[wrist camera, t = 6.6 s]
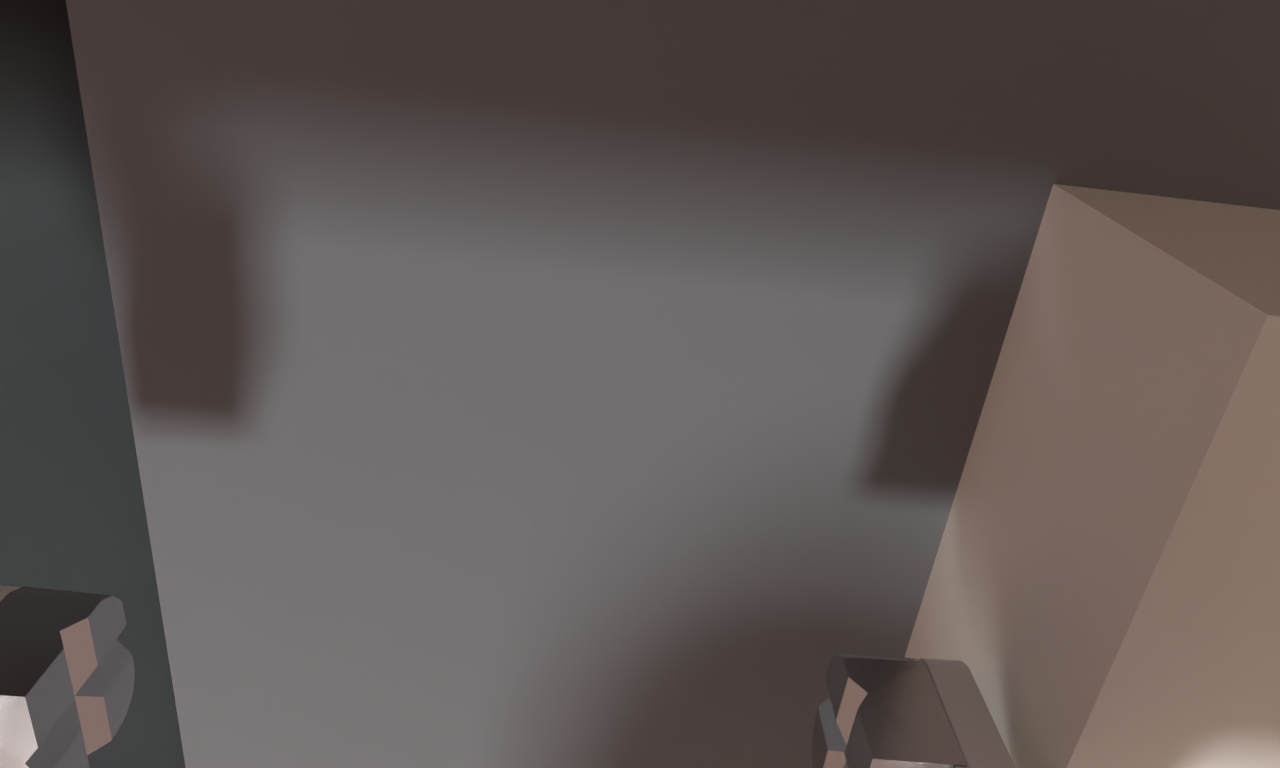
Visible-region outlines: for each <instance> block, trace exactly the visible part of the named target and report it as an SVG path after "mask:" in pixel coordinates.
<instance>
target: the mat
mask: <svg viewBox="0 0 1280 768" xmlns="http://www.w3.org/2000/svg"><path fill="white" fill-rule="evenodd" d="M66 6H67V12H68V18H69V25H70V31H71V38H72V44H73V50H74V57H75V63H76V69H77V76H78V82H79V89H80V95H81V101H82V108H83V114H84V121H85V127H86V133H87V140H88V146H89V152H90V159H91V165H92V172H93V178H94V184H95V191H96V197H97V204H98V210H99V216H100V223H101V229H102V236H103V242H104V248H105V255H106V261H107V267H108V274H109V280H110V287H111V293H112V299H113V306H114V312H115V319H116V325H117V331H118V338H119V344H120V351H121V357H122V363H123V370H124V376H125V382H126V389H127V395H128V402H129V408H130V414H131V421H132V427H133V434H134V440H135V446H136V453H137V459H138V465H139V472H140V478H141V485H142V491H143V497H144V504H145V510H146V517H147V523H148V529H149V536H150V542H151V549H152V555H153V561H154V568H155V574H156V580H157V587H158V593H159V600H160V606H161V612H162V619H163V625H164V632H165V638H166V644H167V651H168V657H169V664H170V670H171V676H172V683H173V689H174V695H175V702H176V708H177V715H178V721H179V727H180V734H181V740H182V747H183V753H184V759H185V766H186V768H813V761H812V739H813V727H814V722H815V718H816V713H817V709H818V706H820V705H821V704H822V703H823V702H825V701H826V700H827V699H828V698H830V695H829V691H828V687H827V683H826V679H825V678H826V674H827V671H828V667H829V664H830V661H831V659H832V658H833V656H834V654H835V653H844V654H858V655H872V656H886V657H900V658H904V657H905V654H906V651H907V647H908V644H909V641H910V638H911V635H912V631H913V628H914V625H915V622H916V619H917V616H918V612H919V609H920V606H921V603H922V600H923V597H924V593H925V590H926V587H927V584H928V581H929V577H930V574H931V571H932V568H933V565H934V562H935V558H936V555H937V552H938V549H939V546H940V542H941V539H942V536H943V533H944V530H945V527H946V523H947V520H948V517H949V514H950V511H951V507H952V504H953V501H954V498H955V495H956V492H957V488H958V485H959V482H960V479H961V476H962V473H963V469H964V466H965V463H966V460H967V457H968V453H969V450H970V447H971V444H972V441H973V438H974V434H975V431H976V428H977V425H978V422H979V418H980V415H981V412H982V409H983V406H984V403H985V399H986V396H987V393H988V390H989V387H990V383H991V380H992V377H993V374H994V371H995V368H996V364H997V361H998V358H999V355H1000V352H1001V349H1002V345H1003V342H1004V339H1005V336H1006V333H1007V329H1008V326H1009V323H1010V320H1011V317H1012V314H1013V310H1014V307H1015V304H1016V301H1017V298H1018V294H1019V291H1020V288H1021V285H1022V282H1023V279H1024V275H1025V272H1026V269H1027V266H1028V263H1029V259H1030V256H1031V253H1032V250H1033V247H1034V244H1035V240H1036V237H1037V234H1038V231H1039V228H1040V225H1041V221H1042V218H1043V215H1044V212H1045V209H1046V205H1047V202H1048V199H1049V196H1050V193H1051V190H1052V186H1053V184H1059V185H1068V186H1076V187H1085V188H1094V189H1102V190H1111V191H1120V192H1128V193H1137V194H1145V195H1154V196H1163V197H1171V198H1180V199H1188V200H1197V201H1206V202H1214V203H1223V204H1232V205H1240V206H1249V207H1257V208H1266V209H1275V210H1280V0H66Z"/></svg>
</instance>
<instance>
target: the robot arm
mask: <svg viewBox="0 0 1280 768" xmlns="http://www.w3.org/2000/svg"><path fill="white" fill-rule="evenodd" d="M126 625H127V622H126V618H125V614H124V609H123V605H122V601H121V600H119V599H117V598H115V597H114V596H111V595H102V594H92V593H82V592H72V591H63V590H53V589H43V588H33V587H14V586H5V585H0V768H89V763H88V758H87V755H89V754H90V753H92V752H94V751H95V750H97V749H98V748H100V747H102V746H103V745H105V744H106V743H108V742H110V741H111V740H112V739H113V737H114V736H115V734H116V732H117V731H118V729H119V728H120V726H121V724H122V723H123V721H124V719H125V717H126V714H127V711H128V707H129V704H130V701H131V698H132V695H133V691H134V676H135V670H134V664H133V657H132V654H131V653H130V652H129V651H128V650H127V649H126V648H125V647H124V646H123V645H122V644H121V643H120V642H119V641H118V640H117V637H118V636H119V634H120V633H121V632H122V630H123V629H124V627H125V626H126ZM825 679H826V683H827V687H828V691H829V695H830V698H828V699H827V700H826V701H825V702H823V703H822V704H821V705H820V706H818V709H817V713H816V718H815V722H814V727H813V739H812V761H813V768H1015V766H1014V764H1013V761H1012V759H1011V757H1010V755H1009V753H1008V751H1007V748H1006V746H1005V744H1004V742H1003V740H1002V738H1001V736H1000V733H999V731H998V729H997V727H996V725H995V723H994V721H993V718H992V716H991V714H990V712H989V710H988V708H987V706H986V703H985V701H984V699H983V697H982V695H981V693H980V690H979V688H978V686H977V684H976V682H975V680H974V678H973V675H972V673H971V671H970V669H969V667H968V666H967V665H966V664H965V663H963V662H962V661H958V660H942V659H925V658H920V659H914V658H900V657H886V656H872V655H858V654H844V653H835V654H834V656H833V658H832V659H831V661H830V664H829V667H828V671H827V674H826V678H825Z"/></svg>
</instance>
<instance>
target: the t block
mask: <svg viewBox="0 0 1280 768" xmlns="http://www.w3.org/2000/svg"><path fill="white" fill-rule="evenodd" d="M904 658H914V659H920V658H925V659H942V660H958V661H962V662H963V663H965V664H966V665H967V666H968V667H969V669H970V671H971V673H972V675H973V678H974V680H975V682H976V684H977V686H978V688H979V690H980V693H981V695H982V697H983V699H984V701H985V703H986V706H987V708H988V710H989V712H990V714H991V716H992V718H993V721H994V723H995V725H996V727H997V729H998V731H999V733H1000V736H1001V738H1002V740H1003V742H1004V744H1005V746H1006V748H1007V751H1008V753H1009V755H1010V757H1011V759H1012V761H1013V764H1014V766H1015V768H1280V210H1275V209H1266V208H1257V207H1249V206H1240V205H1232V204H1223V203H1214V202H1206V201H1197V200H1188V199H1180V198H1171V197H1163V196H1154V195H1145V194H1137V193H1128V192H1120V191H1111V190H1102V189H1094V188H1085V187H1076V186H1068V185H1059V184H1053V186H1052V190H1051V193H1050V196H1049V199H1048V202H1047V205H1046V209H1045V212H1044V215H1043V218H1042V221H1041V225H1040V228H1039V231H1038V234H1037V237H1036V240H1035V244H1034V247H1033V250H1032V253H1031V256H1030V259H1029V263H1028V266H1027V269H1026V272H1025V275H1024V279H1023V282H1022V285H1021V288H1020V291H1019V294H1018V298H1017V301H1016V304H1015V307H1014V310H1013V314H1012V317H1011V320H1010V323H1009V326H1008V329H1007V333H1006V336H1005V339H1004V342H1003V345H1002V349H1001V352H1000V355H999V358H998V361H997V364H996V368H995V371H994V374H993V377H992V380H991V383H990V387H989V390H988V393H987V396H986V399H985V403H984V406H983V409H982V412H981V415H980V418H979V422H978V425H977V428H976V431H975V434H974V438H973V441H972V444H971V447H970V450H969V453H968V457H967V460H966V463H965V466H964V469H963V473H962V476H961V479H960V482H959V485H958V488H957V492H956V495H955V498H954V501H953V504H952V507H951V511H950V514H949V517H948V520H947V523H946V527H945V530H944V533H943V536H942V539H941V542H940V546H939V549H938V552H937V555H936V558H935V562H934V565H933V568H932V571H931V574H930V577H929V581H928V584H927V587H926V590H925V593H924V597H923V600H922V603H921V606H920V609H919V612H918V616H917V619H916V622H915V625H914V628H913V631H912V635H911V638H910V641H909V644H908V647H907V651H906V654H905V657H904Z"/></svg>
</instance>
